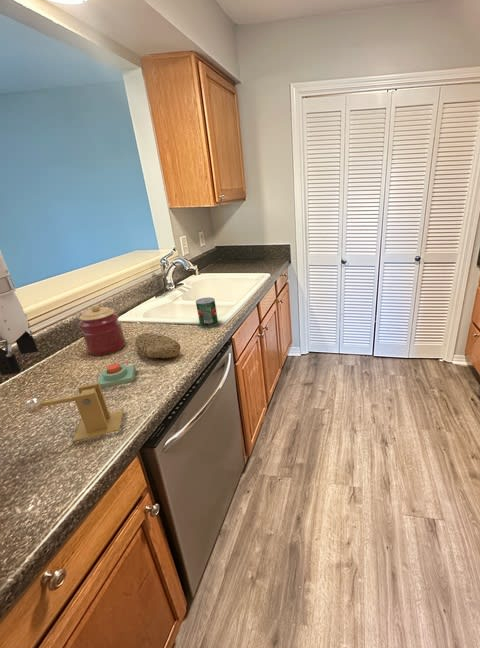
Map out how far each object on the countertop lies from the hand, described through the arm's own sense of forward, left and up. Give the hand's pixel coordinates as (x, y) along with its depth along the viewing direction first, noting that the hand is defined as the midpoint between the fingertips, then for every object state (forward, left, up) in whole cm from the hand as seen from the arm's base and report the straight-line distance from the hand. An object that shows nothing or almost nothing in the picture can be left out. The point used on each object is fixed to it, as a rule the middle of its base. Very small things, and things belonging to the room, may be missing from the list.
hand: (21, 362), depth 71 cm
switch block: (+11, +23, -22) cm, 34 cm away
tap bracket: (+10, 0, -22) cm, 24 cm away
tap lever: (+4, 0, -13) cm, 14 cm away
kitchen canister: (+4, +51, -22) cm, 56 cm away
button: (+11, +23, -18) cm, 31 cm away
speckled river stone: (+23, +37, -22) cm, 49 cm away
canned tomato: (+43, +57, -22) cm, 75 cm away
